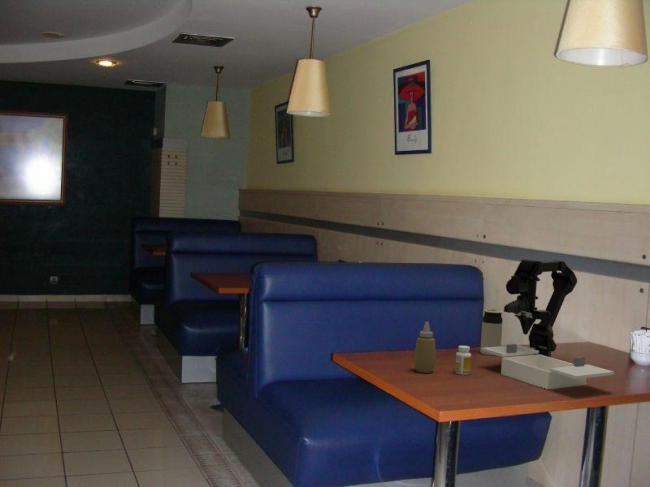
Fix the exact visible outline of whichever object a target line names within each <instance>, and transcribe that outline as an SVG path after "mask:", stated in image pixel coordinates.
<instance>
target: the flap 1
mask: <svg viewBox="0 0 650 487" xmlns="http://www.w3.org/2000/svg"><path fill="white" fill-rule="evenodd" d="M534 349H535V348H530V347H526V346H523V345H519V344H517V343H512V344H511V343H510V344H509V343H508V344H506V345H501V346H498V347H486V348H481V347H480V351H485V352H488V353H491V354H495V355H498V357H502V358H506V357H517V356H527V355H533V354H538V353H539V351H538V350H534Z"/></svg>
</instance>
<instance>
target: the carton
mask: <svg viewBox="0 0 650 487" xmlns="http://www.w3.org/2000/svg"><path fill="white" fill-rule="evenodd" d="M568 366H574V363H571V362H568V361H564V360H561V359H557V358H554V357H547V356H544V355H540V354H538V355H533V354H527V355H516V356H506V357H502V358H501V367H500V368H501V369H500V374H501V375H502V376H506V377H509V378H511V379H514V380H517V381H521V382H523V383H526V384H530V385H533V386H535V387H539V388H541V387H542V389H544V388H545V389H544V390H547V389H549V390H553V389H554V390H555V389H562V388H563V389H564V388H571V387H577V386H586V385H587V378H582V379H574V378H570V377H567V376H564V375H561V374H557V373H554V372H551V371H550V368H559V367H568Z"/></svg>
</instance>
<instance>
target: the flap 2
mask: <svg viewBox="0 0 650 487" xmlns="http://www.w3.org/2000/svg"><path fill="white" fill-rule="evenodd" d="M585 360H586V357H585V356H576V357H575V356H574V358H573V364H574V366H568V367H559V368H550V371H551V372H554V373H557V374H561V375H564V376H567V377H570V378H574V379H582V378H586V379H589V378H597V377H598V378H599V377H605V376H613V375H615V371H613V370H609V369H605V368H602V367H599V366H596V365H591V364H589V363H587V364H585V363H586V361H585Z"/></svg>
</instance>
